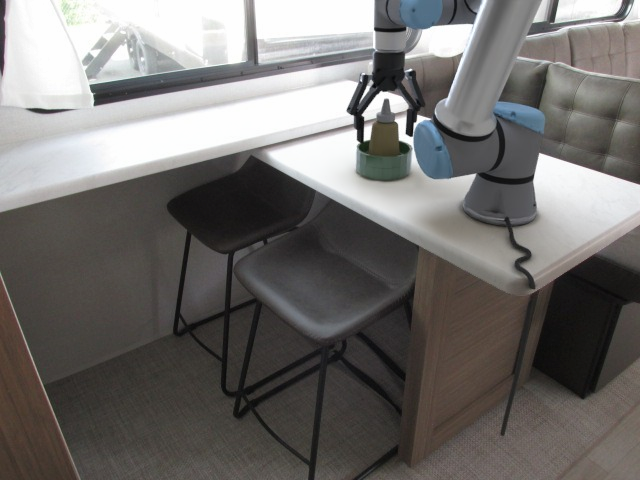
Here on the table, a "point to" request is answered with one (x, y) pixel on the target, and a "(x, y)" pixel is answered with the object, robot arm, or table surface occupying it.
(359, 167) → the bowl
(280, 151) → the table surface
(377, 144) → the squeeze bottle
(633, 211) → the table surface
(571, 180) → the table surface
